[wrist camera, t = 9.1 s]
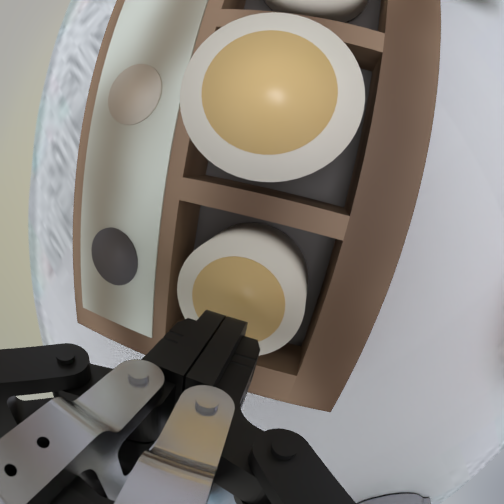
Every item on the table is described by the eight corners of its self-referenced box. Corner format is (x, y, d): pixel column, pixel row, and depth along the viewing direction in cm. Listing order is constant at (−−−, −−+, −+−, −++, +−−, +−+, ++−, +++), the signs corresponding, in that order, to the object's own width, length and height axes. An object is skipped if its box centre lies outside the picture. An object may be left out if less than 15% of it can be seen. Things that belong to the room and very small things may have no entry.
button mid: (363, 61, 9) (376, 29, 6) (336, 194, 11) (343, 203, 8) (227, 40, 10) (200, 7, 7) (200, 163, 12) (163, 164, 9)
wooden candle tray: (422, -38, 8) (434, -66, 5) (331, 378, 17) (330, 415, 14) (177, -60, 11) (156, -83, 8) (104, 303, 19) (75, 324, 16)
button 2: (321, 238, 14) (321, 258, 11) (292, 336, 16) (284, 372, 13) (210, 211, 15) (183, 222, 12) (195, 307, 17) (171, 335, 14)
